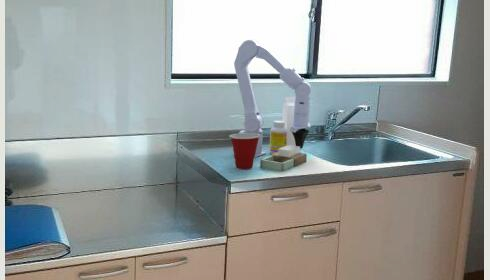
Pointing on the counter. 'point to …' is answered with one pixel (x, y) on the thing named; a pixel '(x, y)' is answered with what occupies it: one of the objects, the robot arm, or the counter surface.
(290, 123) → the milk
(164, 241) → the counter surface
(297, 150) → the tile back
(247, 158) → the plastic cup
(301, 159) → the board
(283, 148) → the tile front
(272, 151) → the supplement bottle
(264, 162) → the tray
